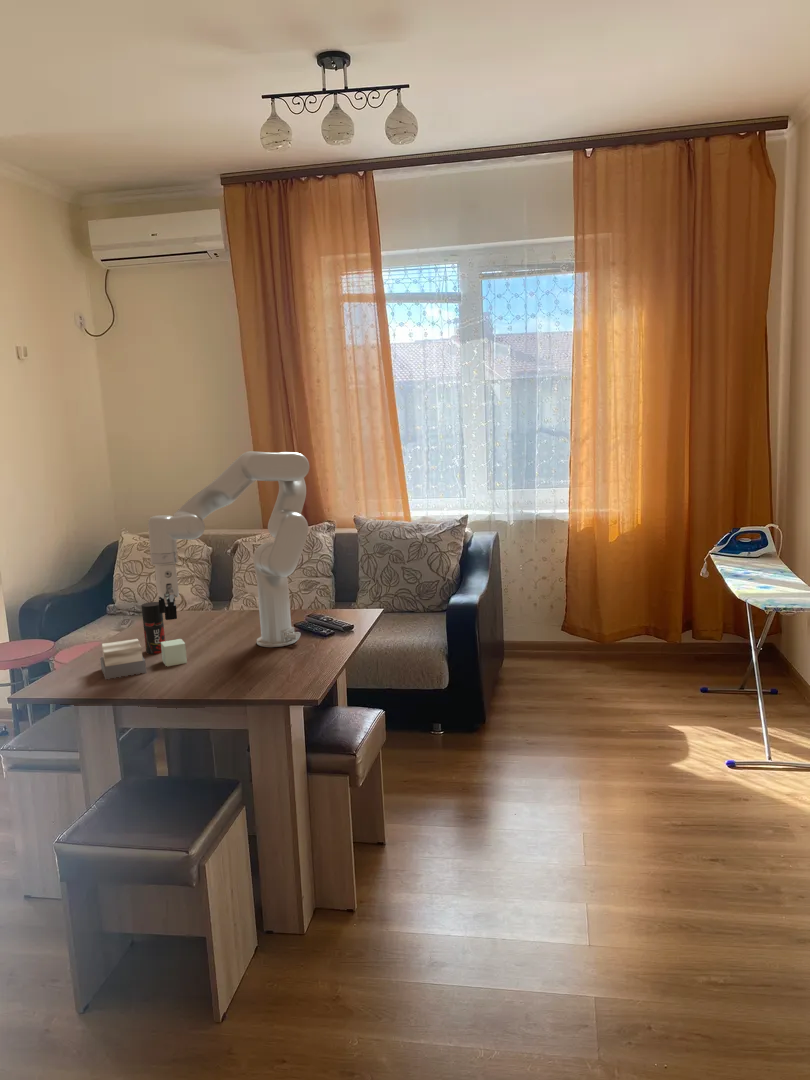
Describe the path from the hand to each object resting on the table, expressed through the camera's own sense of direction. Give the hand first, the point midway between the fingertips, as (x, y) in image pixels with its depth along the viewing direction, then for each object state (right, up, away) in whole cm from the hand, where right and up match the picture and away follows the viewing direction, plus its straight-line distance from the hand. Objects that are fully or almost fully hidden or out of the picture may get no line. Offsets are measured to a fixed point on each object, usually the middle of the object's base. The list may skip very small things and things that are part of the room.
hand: (168, 615), depth 239 cm
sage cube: (+1, -14, +3) cm, 14 cm away
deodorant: (-8, -13, +15) cm, 21 cm away
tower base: (-12, -16, -4) cm, 20 cm away
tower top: (-12, -12, -4) cm, 17 cm away
